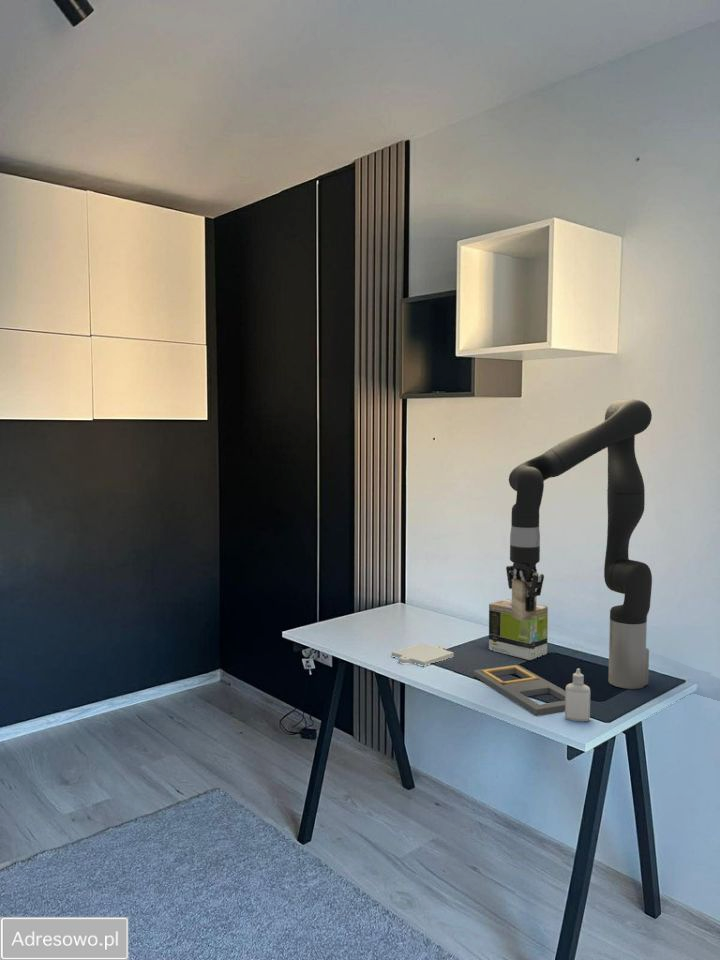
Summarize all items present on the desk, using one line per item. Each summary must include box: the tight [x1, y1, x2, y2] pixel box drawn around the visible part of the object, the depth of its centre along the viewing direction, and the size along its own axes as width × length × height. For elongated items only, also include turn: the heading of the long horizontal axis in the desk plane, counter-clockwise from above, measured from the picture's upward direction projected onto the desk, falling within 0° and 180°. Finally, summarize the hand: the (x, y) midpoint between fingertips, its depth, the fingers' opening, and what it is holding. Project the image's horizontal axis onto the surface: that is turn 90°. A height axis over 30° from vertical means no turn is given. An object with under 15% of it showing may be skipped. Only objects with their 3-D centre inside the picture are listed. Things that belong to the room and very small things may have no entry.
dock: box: [473, 664, 566, 716], centre depth 193 cm, size 14×30×2 cm, turn 21°
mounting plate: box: [391, 642, 455, 666], centre depth 222 cm, size 18×13×2 cm
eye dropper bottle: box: [564, 668, 591, 723], centre depth 175 cm, size 4×6×12 cm
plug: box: [511, 579, 538, 621], centre depth 193 cm, size 4×4×10 cm
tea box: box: [488, 598, 549, 661], centre depth 226 cm, size 15×10×15 cm, turn 43°
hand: (523, 608), depth 193 cm, fingers closed on plug, 4 cm apart
